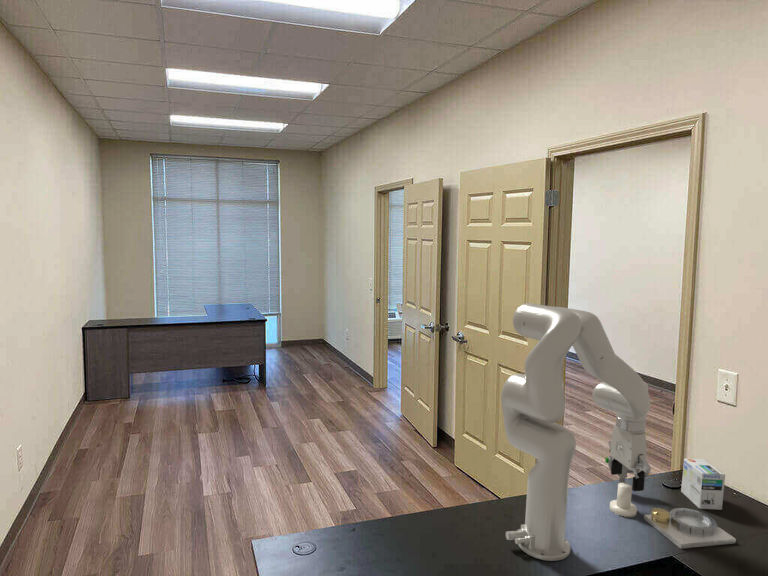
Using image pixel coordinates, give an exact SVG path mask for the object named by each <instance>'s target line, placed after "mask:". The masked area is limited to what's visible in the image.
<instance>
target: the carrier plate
mask: <svg viewBox="0 0 768 576" xmlns="http://www.w3.org/2000/svg"><path fill="white" fill-rule="evenodd" d="M643 520H644V521H645V522H647V523H648V524H649V525H650V526H652V527H653V528H654V529H655V530H656V531H658V532H659V533H660V534H661V535H663V536H664V537H665V538H667V539H668V540H669V541H670V542H672V543H673V544H674V545H675V546H676V547H678V548H679V549H690V548H700V547H711V546H712V547H713V546H721V545H730V544H731V545H732V544H736V540H737V539H736V538H735V537H734V536H733V535H731V534H730V533H728V532H727V531H725V530H724V529H722V528H721V527H719V526H718V523H717V521H716V520H715V519H714V518H713V517H711V516H710V515H708V514H707V513H705V512H701V511H699V510H698V509H697V510H696V509H691V508H687V507H676V508H673V509H671V510H670V511H668V510H667V509H665V508H660V507H653V508H652V509H651V513H650V514H644V516H643Z"/></svg>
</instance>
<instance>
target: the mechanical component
mask: <svg viewBox="0 0 768 576" xmlns="http://www.w3.org/2000/svg"><path fill="white" fill-rule="evenodd" d="M610 457H611V455H607V457H605V458H604V459H605V461H604V462H605V464H607V466H608V468H609V470H610V471H611V462H612V460H611V458H610ZM636 466H637V464H636ZM637 471H638V473H639V472H640V468H638V469H637ZM628 474H630V475H631V474H632V475H634V472H633V470H632V469H629V468H627V467H626V466H624V465H623V464H622V474H617V476H618V477H619V481H618V484H619V483H626V479H627V478H628Z"/></svg>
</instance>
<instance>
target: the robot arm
mask: <svg viewBox="0 0 768 576" xmlns="http://www.w3.org/2000/svg"><path fill="white" fill-rule="evenodd" d="M512 326H513V328H514V330H515V332H516V333H517V334H518V335H519V336H521V337H523V338H527V339H532V340H536V341H538V342H537V343H536V344H535V345H534V347H533V348H532V349H531V350H530V352H528V354H527V356H526V357H525V361H524V366H523V367H524V373H514V374H511V375H510V376H508V378H506V380H505V382H504V384H503V387H502V389H501V397H500V400H501V408H502V409H501V410H502V418H503V423H504V424H503V425H504V430H505V431H504V432H505V436H506V440H507V441H508V443H509V444H510V445H511V446H512V447H513V448H515V449H517V450H519V451H521V452H523V453H526V454H528V455H530V456H532V457H533V458H535V459H536V463H535V465H533V467H531V469H530V470H529V472H528V475H527V483H526V485H527V487H526V501H525V504H526V505H525V517H524V524H520V528H518V529H517V530H509V531H508V530H507V531H505V538H506V540H507V541H511V540H514V543H515V545H518V547H519V548H520V550H521V551H523V552H524V553H526V554H527V555H528V556H531V557H533V558H535V559H539V560H542V561H547V562H549V561H550V562H555V561H561V560H564V559H566V558H567V557H569V556H570V554H571V545H570V544H571V543H570V542H569V541H568V540H567V539H566V538H565V537H566V536H565V535H566V533H565V532H566V521H567V519H566V518H567V507H568V494H569V491H568V490H569V482H570V481H569V480H570V471H571V466H572V463H573V458H574V455H575V451H576V446H577V444H576V443H577V442H576V438H575V436H574V434H573V433H572V431H570V429H567V428H566V427H565V426H564V425H562V424H559V423H557V422H559V421H560V420H562V419H563V416H564V414H565V410H566V401H565V390H564V389H565V387H564V380H563V363H564V360H565V358H566V356H567V354H568V353H569V351H570V350H571V348H572V347H573V350H574V352H575V353H576V355H577V358H578V360H579V362H580V365H581V366H582V368H583V369H584V370H585V371H586V372H587V373H588V374H590V375H591V376H593V377H594V378H596V379H597V380H600V381H601V382H599V383H598V384H597V385H596V386H595V387H594V388H593V391H592V400H593V402H594V403H595V405H597V407H600V408H602V409H604V410H607V411H610V412H614V413H616V416H615V418H616V419H615V423H614V426H613V429H612V434H611V437H610V438H611V440H610V441H608V442H607V443H608V448H609V454H610V456H611V457H610V458H611V460H612V462H611V470H610V474H611V476H616V475H618V474H622V464H623V465H624V466H626V467H627V468H629V469H632V470H633V472H634V474H633V475H634V476H632V484H631V486H632V491H633V492H639V491H640V492H642V491H644V490H645V479H646V478H647V477H648V476H649V475H650V472H651V470H652V467H651V465H650V464H649V461H648V460H647V435H646V425H647V415H648V413H649V412H650V409H651V397H650V394H649V385H648V383H647V382H646V381H644V380H643V378H642V377H641V376H640V375H639V374H638V372H636V371H635V369H634V368H632V367H631V366H630V365H629V364H628V363H626V361H624V360H623V359H622V358H621V357H620V356H618V355H617V354H616V353H615V351H614V349H613V346H612V345H611V341H610V340H609V337H608V335H607V333H606V331H605V329H604V326H603V324H602V322H601V320H600V319H599V317H598V316H597V315H596V314H595V313H592V312H589V311H587V310H581V309H575V308H569V307H562V306H551V305H545V304H544V305H543V304H537V303H531V302H527V303H523V304H521V305H520V306H518V307H517V309H515V311H514V312H513V316H512ZM636 464H637V466H636ZM638 468H640V471H639V473H638V471H637V469H638Z"/></svg>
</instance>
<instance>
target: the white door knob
mask: <svg viewBox="0 0 768 576" xmlns="http://www.w3.org/2000/svg"><path fill="white" fill-rule="evenodd" d="M632 491H633V490H632V484H631V483H630V484H629V483H627V482H625V483H619V482H618V483H617V491H616V492H617V494H616V495H617V496H616V499H613V500H611V501H610V502H609V510H610V511H611V512H612V513H613V512H614V513H615V514H614V513H613V514H614V515H616V514H618V515H617V516H619V515H621V516H620V517H622V516H624V517H623V518H635V517H636V516H637V513H638V512H637V511H638V507H637V506H636V505H635V504H634V503H632V494H633V493H632Z"/></svg>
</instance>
